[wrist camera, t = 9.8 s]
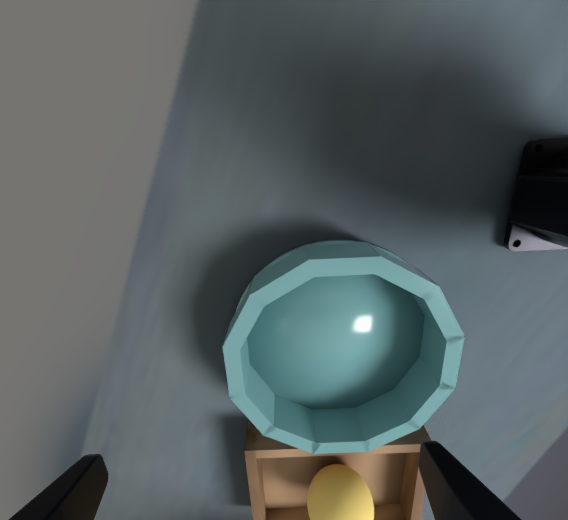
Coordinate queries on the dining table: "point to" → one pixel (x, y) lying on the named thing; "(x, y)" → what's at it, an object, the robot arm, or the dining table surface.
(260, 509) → the tray
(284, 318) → the bowl
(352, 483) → the ball
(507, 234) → the robot arm
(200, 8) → the dining table surface
